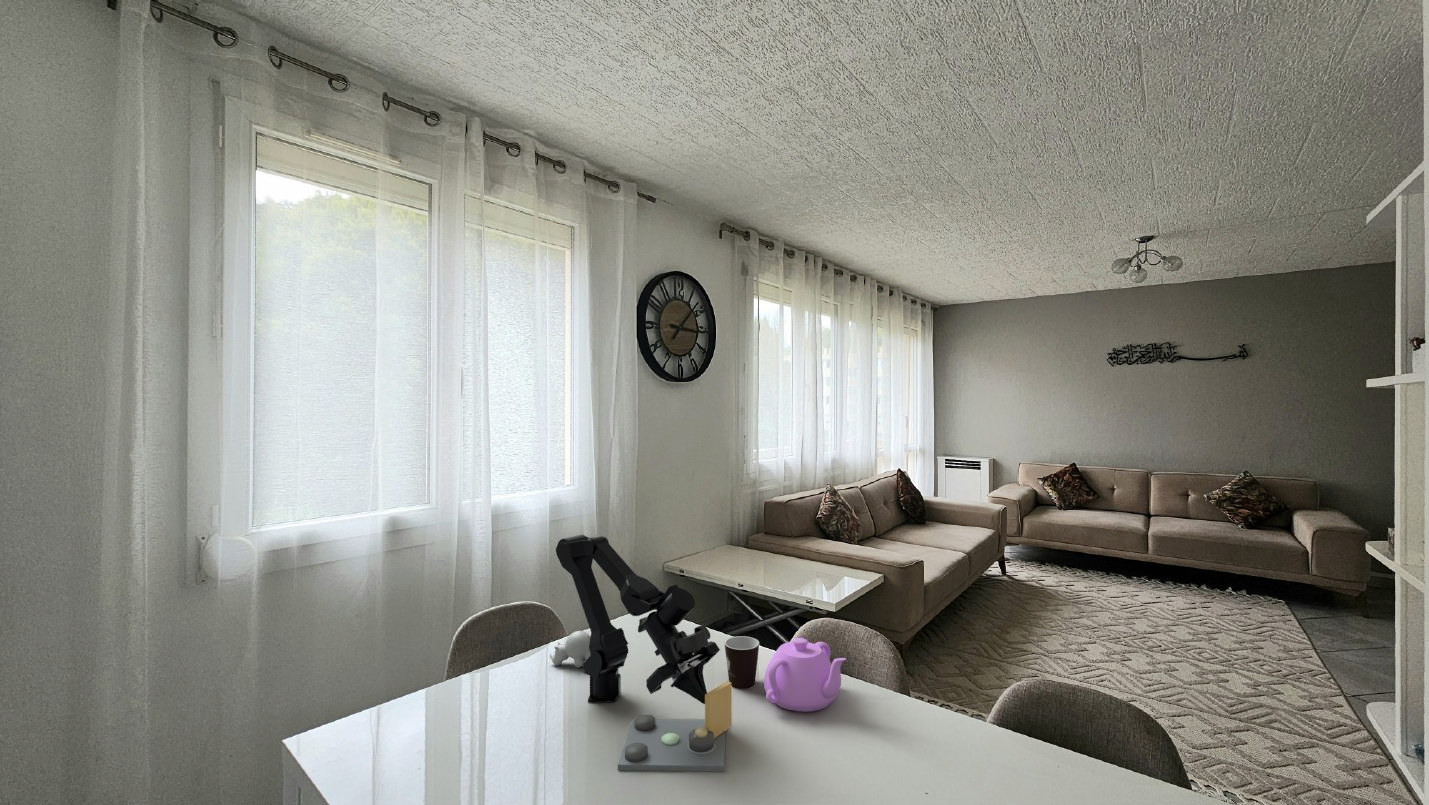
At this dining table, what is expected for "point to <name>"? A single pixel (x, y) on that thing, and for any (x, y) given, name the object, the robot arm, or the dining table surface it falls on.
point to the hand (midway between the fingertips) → (706, 702)
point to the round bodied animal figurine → (573, 649)
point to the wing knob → (713, 718)
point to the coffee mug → (742, 661)
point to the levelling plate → (668, 746)
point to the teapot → (802, 676)
